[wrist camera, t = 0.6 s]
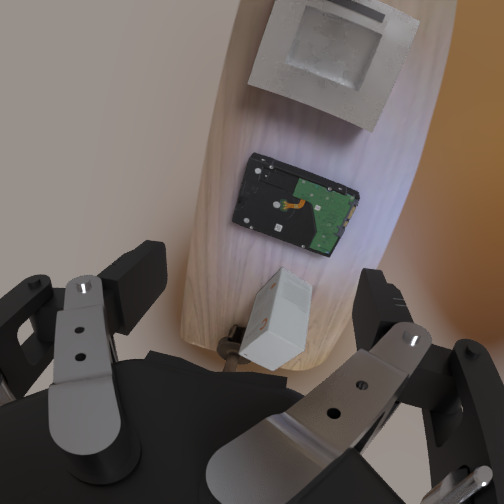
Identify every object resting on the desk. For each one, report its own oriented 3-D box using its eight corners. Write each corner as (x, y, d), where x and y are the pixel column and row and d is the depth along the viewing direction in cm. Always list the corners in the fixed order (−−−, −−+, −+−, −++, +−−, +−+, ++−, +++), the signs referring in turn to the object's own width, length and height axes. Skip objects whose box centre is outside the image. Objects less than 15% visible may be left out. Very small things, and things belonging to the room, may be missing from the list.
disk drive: (236, 213, 46) (331, 247, 45) (230, 223, 44) (330, 259, 43) (253, 149, 39) (360, 189, 39) (248, 157, 37) (361, 198, 36)
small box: (286, 310, 55) (272, 372, 45) (256, 293, 54) (236, 354, 44) (314, 285, 50) (305, 351, 40) (282, 265, 49) (266, 330, 39)
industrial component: (256, 347, 64) (242, 396, 54) (223, 339, 64) (206, 386, 55) (262, 320, 58) (246, 374, 48) (225, 311, 59) (204, 362, 49)
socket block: (256, 80, 33) (246, 84, 29) (292, -22, 24) (286, -32, 20) (367, 123, 33) (372, 133, 29) (409, 24, 24) (420, 21, 20)
